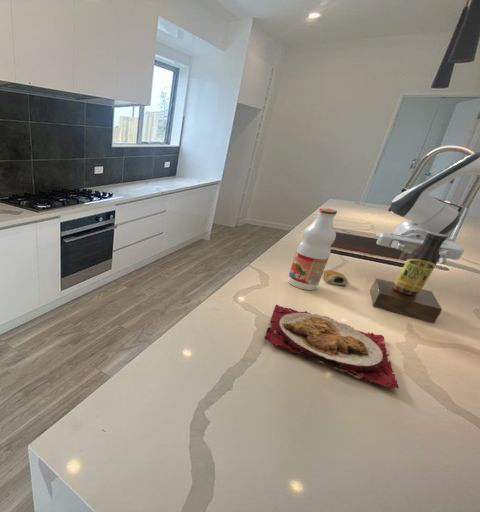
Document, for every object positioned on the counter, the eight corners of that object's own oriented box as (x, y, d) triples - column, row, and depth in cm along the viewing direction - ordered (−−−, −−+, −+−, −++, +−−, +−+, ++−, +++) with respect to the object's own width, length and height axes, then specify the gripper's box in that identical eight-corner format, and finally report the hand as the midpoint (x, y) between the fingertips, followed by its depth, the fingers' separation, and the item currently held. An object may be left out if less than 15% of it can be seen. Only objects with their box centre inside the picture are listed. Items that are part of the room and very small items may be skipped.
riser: (424, 304, 99) (431, 291, 97) (434, 323, 89) (442, 309, 87) (370, 290, 107) (375, 278, 105) (372, 306, 96) (379, 293, 94)
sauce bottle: (391, 291, 96) (420, 232, 88) (391, 285, 100) (419, 228, 92) (420, 299, 92) (453, 238, 84) (418, 292, 96) (450, 234, 88)
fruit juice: (319, 293, 103) (349, 214, 92) (287, 286, 107) (313, 210, 96) (314, 282, 111) (342, 208, 100) (285, 276, 115) (309, 204, 104)
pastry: (317, 273, 118) (321, 264, 117) (337, 276, 117) (340, 267, 115) (327, 283, 110) (331, 274, 109) (348, 287, 108) (352, 278, 107)
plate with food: (395, 396, 63) (403, 383, 62) (262, 342, 76) (266, 331, 75) (381, 340, 81) (387, 330, 79) (275, 305, 94) (279, 295, 93)
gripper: (378, 225, 110) (382, 234, 99) (459, 239, 98) (473, 250, 88) (371, 241, 112) (374, 251, 102) (449, 256, 101) (461, 269, 91)
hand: (420, 251), depth 95 cm, fingers open, 8 cm apart
